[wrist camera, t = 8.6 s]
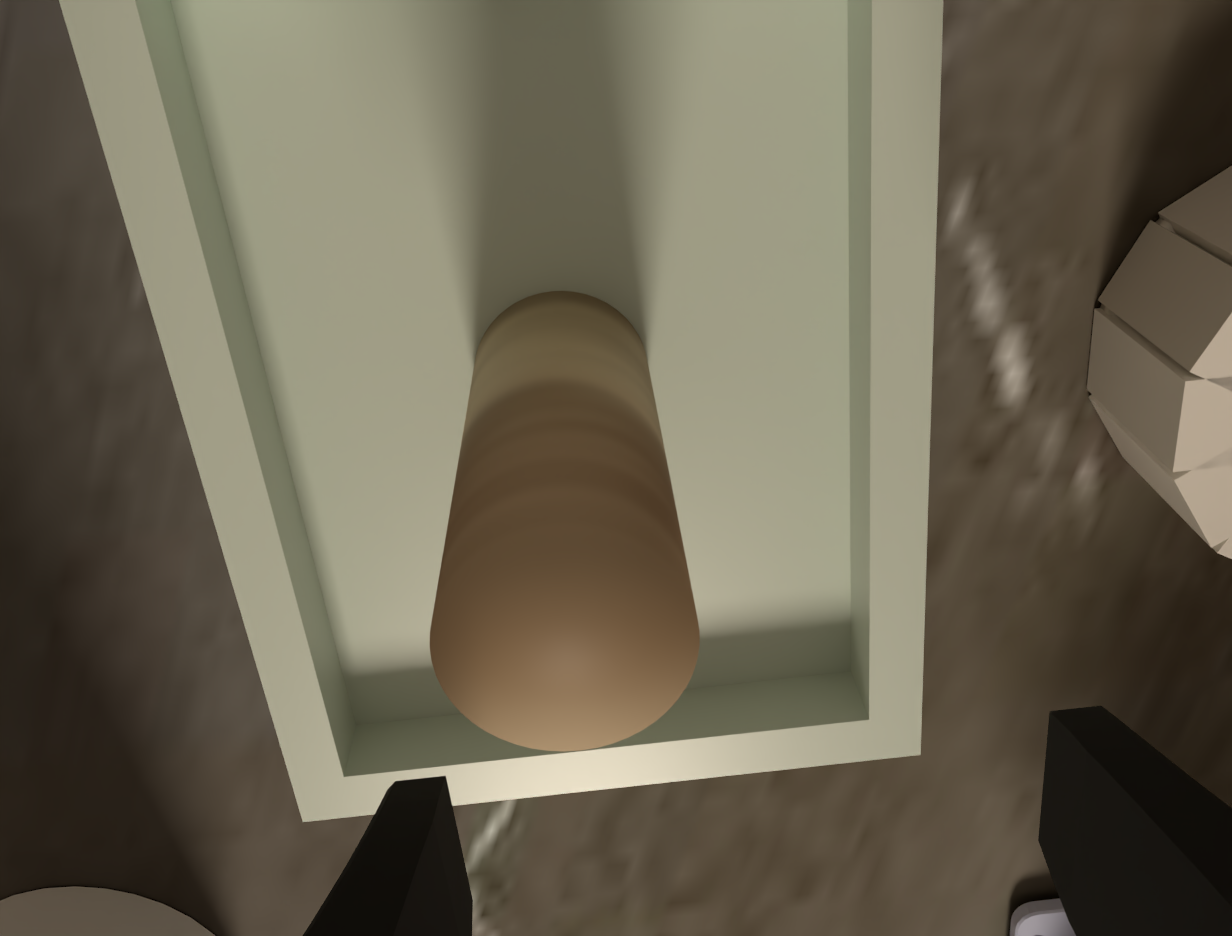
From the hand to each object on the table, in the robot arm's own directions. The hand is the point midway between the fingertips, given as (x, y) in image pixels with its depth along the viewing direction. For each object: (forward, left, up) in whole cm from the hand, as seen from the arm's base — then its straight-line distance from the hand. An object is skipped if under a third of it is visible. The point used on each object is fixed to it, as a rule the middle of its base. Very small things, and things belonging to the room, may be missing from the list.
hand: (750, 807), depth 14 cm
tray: (+2, +2, -9) cm, 10 cm away
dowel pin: (+2, +2, -8) cm, 9 cm away
